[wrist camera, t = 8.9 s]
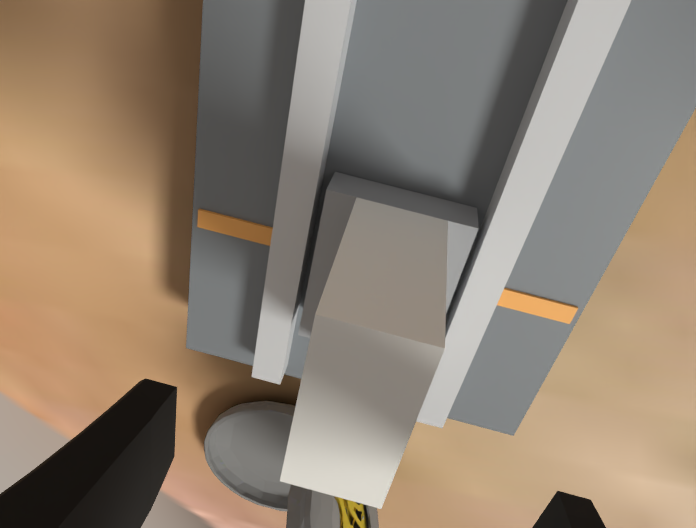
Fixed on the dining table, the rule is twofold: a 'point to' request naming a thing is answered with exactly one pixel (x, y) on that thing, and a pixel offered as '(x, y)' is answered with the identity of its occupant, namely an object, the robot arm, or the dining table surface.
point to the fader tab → (372, 332)
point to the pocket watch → (273, 468)
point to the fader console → (432, 165)
